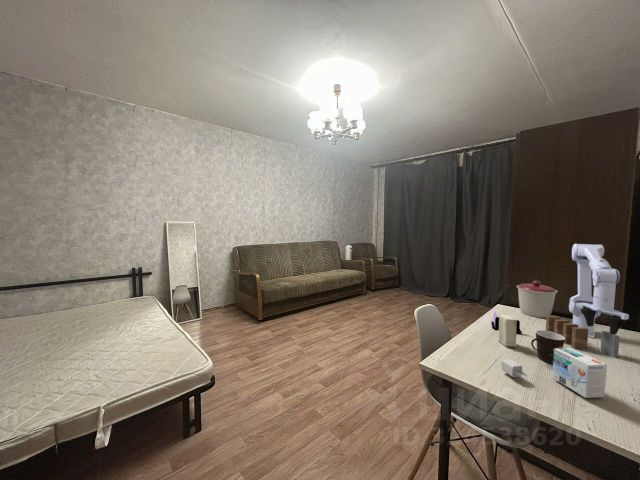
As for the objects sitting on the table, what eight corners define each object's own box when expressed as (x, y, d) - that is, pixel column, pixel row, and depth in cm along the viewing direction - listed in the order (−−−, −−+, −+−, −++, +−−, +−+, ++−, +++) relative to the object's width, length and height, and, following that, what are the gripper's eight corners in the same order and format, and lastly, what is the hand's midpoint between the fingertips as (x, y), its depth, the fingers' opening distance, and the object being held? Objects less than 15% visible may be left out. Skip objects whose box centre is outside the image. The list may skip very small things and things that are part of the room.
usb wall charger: (510, 369, 91) (511, 359, 91) (529, 381, 85) (529, 369, 84) (501, 370, 91) (501, 359, 91) (518, 382, 84) (519, 370, 84)
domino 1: (545, 333, 121) (546, 315, 121) (556, 334, 121) (557, 316, 120) (548, 335, 120) (549, 317, 119) (559, 335, 119) (560, 317, 119)
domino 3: (562, 342, 112) (563, 323, 112) (573, 342, 112) (575, 323, 111) (565, 344, 111) (566, 324, 110) (577, 344, 110) (578, 325, 110)
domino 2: (553, 337, 117) (554, 319, 116) (564, 338, 116) (565, 319, 116) (556, 339, 115) (557, 320, 115) (567, 339, 115) (569, 321, 114)
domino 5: (613, 357, 100) (615, 336, 99) (600, 351, 105) (602, 330, 104) (617, 357, 99) (619, 336, 99) (604, 351, 104) (606, 330, 104)
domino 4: (571, 347, 108) (572, 327, 107) (583, 347, 108) (584, 327, 107) (574, 348, 106) (576, 328, 106) (587, 349, 106) (588, 329, 105)
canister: (553, 324, 133) (556, 286, 132) (512, 315, 147) (513, 280, 145) (557, 316, 145) (559, 281, 143) (518, 308, 158) (520, 276, 157)
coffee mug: (555, 355, 101) (557, 331, 100) (568, 366, 93) (570, 341, 92) (521, 350, 105) (522, 328, 104) (531, 361, 97) (532, 336, 96)
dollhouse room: (492, 330, 126) (493, 317, 126) (490, 322, 136) (491, 310, 136) (522, 335, 120) (523, 322, 119) (518, 326, 130) (519, 314, 130)
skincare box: (516, 347, 108) (517, 320, 107) (505, 346, 109) (506, 319, 108) (508, 340, 114) (509, 315, 113) (497, 339, 115) (499, 314, 114)
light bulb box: (551, 377, 87) (553, 347, 86) (568, 376, 87) (570, 347, 86) (586, 398, 76) (588, 365, 75) (605, 397, 77) (608, 364, 76)
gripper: (575, 293, 107) (572, 323, 108) (619, 303, 93) (616, 338, 94) (588, 292, 108) (586, 322, 109) (634, 303, 94) (631, 337, 95)
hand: (601, 329), depth 102 cm, fingers open, 7 cm apart
